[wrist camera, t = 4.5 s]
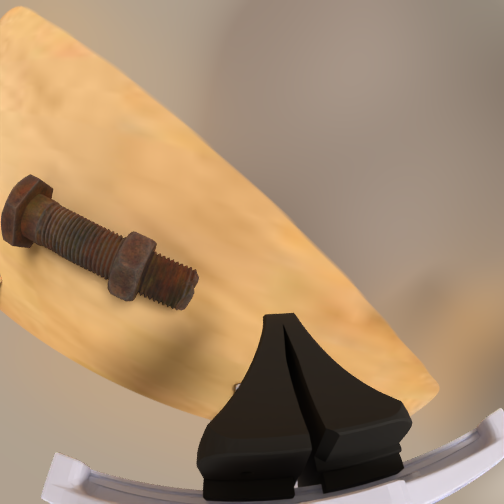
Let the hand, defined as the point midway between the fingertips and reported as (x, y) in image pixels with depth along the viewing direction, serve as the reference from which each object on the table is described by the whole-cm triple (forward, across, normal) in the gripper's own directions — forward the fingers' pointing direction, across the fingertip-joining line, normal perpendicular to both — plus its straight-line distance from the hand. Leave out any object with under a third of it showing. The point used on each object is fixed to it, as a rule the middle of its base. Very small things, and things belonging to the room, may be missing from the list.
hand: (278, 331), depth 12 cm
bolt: (+9, +12, -2) cm, 15 cm away
